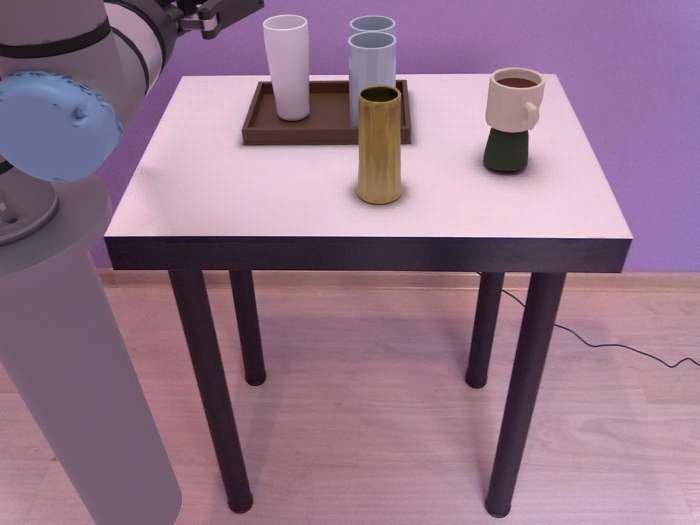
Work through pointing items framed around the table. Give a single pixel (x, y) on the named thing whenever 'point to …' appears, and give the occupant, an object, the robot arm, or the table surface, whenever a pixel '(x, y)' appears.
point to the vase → (379, 144)
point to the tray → (312, 117)
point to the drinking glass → (288, 64)
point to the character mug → (512, 116)
